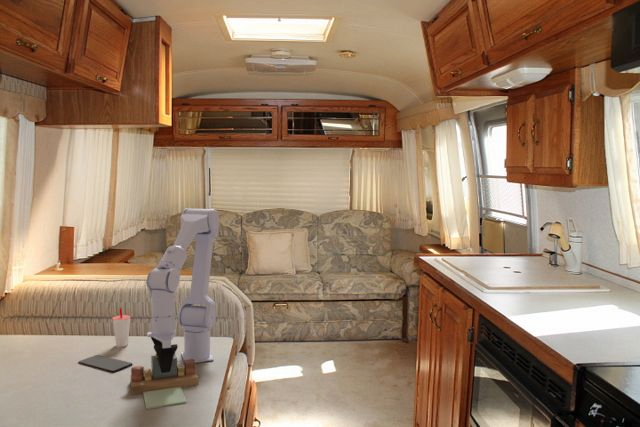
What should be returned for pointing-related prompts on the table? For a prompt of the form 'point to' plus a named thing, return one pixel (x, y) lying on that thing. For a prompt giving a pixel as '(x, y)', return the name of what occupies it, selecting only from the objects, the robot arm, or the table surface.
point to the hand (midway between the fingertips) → (164, 366)
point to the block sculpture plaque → (145, 383)
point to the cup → (121, 329)
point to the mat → (164, 397)
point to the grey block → (156, 369)
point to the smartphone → (105, 363)
